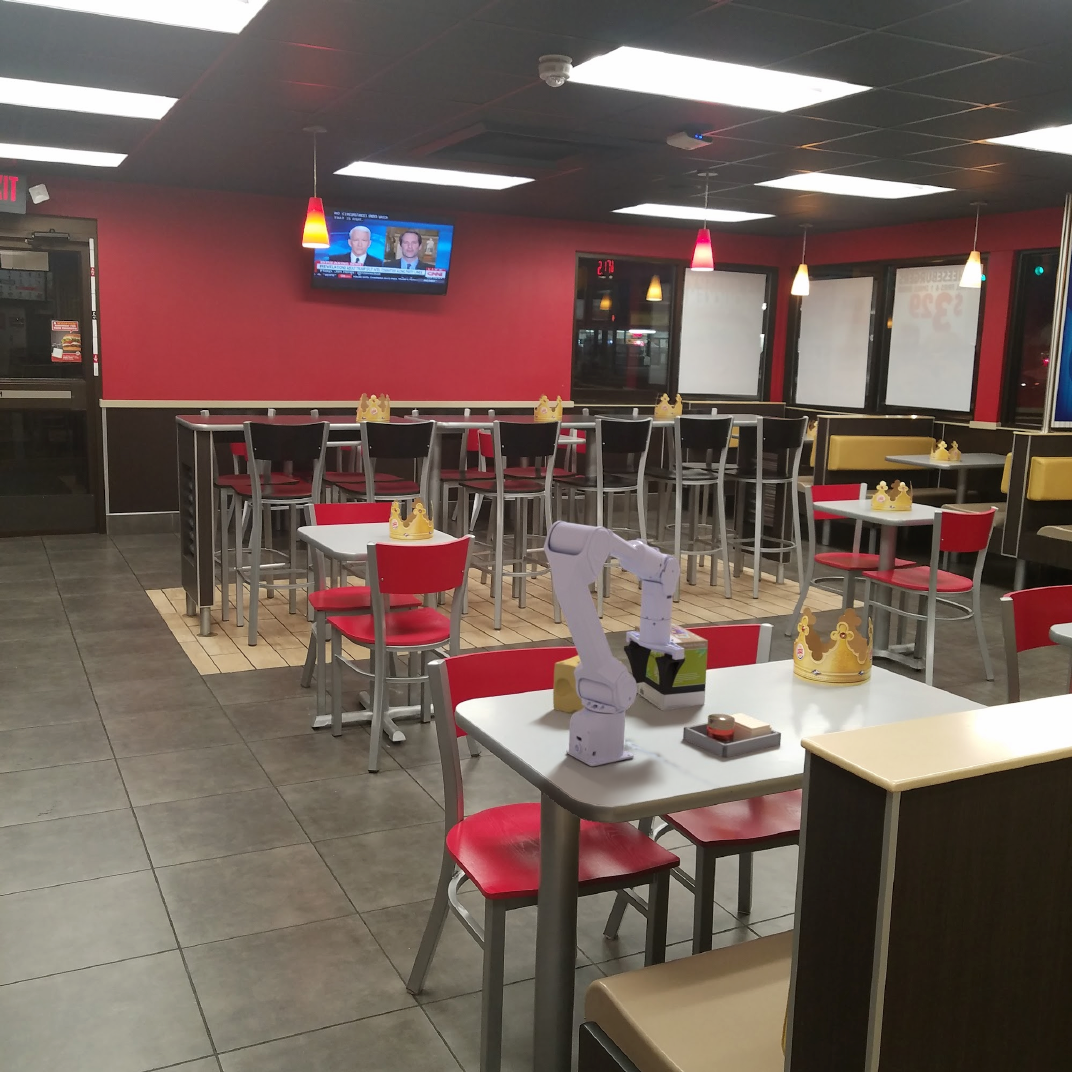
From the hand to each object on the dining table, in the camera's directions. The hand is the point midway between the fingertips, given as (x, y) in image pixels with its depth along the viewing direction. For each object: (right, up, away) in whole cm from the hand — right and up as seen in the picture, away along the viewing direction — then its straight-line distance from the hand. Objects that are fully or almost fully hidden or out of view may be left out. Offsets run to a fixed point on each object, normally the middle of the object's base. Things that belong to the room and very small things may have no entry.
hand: (652, 687), depth 196 cm
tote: (+14, -10, -3) cm, 18 cm away
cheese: (-12, -7, +17) cm, 21 cm away
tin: (+12, -10, -4) cm, 16 cm away
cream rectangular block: (+17, -9, -1) cm, 20 cm away
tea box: (+6, -6, +24) cm, 26 cm away
